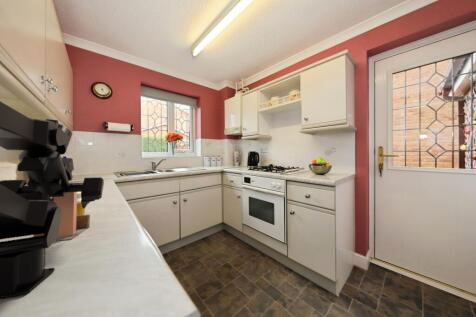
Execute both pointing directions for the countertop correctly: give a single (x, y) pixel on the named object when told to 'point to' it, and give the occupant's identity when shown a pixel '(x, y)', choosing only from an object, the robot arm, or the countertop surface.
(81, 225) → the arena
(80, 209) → the supplement bottle
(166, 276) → the countertop surface
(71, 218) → the terracotta block
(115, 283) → the countertop surface
